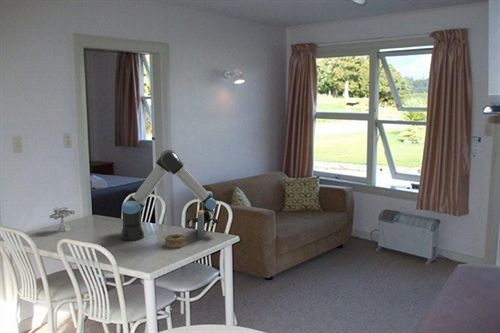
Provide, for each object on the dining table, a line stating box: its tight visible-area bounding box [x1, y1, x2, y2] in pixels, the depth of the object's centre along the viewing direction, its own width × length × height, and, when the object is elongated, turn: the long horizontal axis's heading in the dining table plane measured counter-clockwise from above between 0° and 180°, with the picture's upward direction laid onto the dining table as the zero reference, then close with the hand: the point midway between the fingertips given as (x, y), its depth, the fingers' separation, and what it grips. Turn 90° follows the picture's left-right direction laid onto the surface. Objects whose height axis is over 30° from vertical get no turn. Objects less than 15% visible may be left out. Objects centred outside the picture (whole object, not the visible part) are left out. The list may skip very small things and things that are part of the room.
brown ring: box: [164, 233, 187, 249], centre depth 300 cm, size 12×12×5 cm
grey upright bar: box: [197, 210, 205, 240], centre depth 314 cm, size 4×4×18 cm
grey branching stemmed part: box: [48, 206, 76, 233], centre depth 338 cm, size 18×16×17 cm
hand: (200, 224), depth 311 cm, fingers open, 13 cm apart
